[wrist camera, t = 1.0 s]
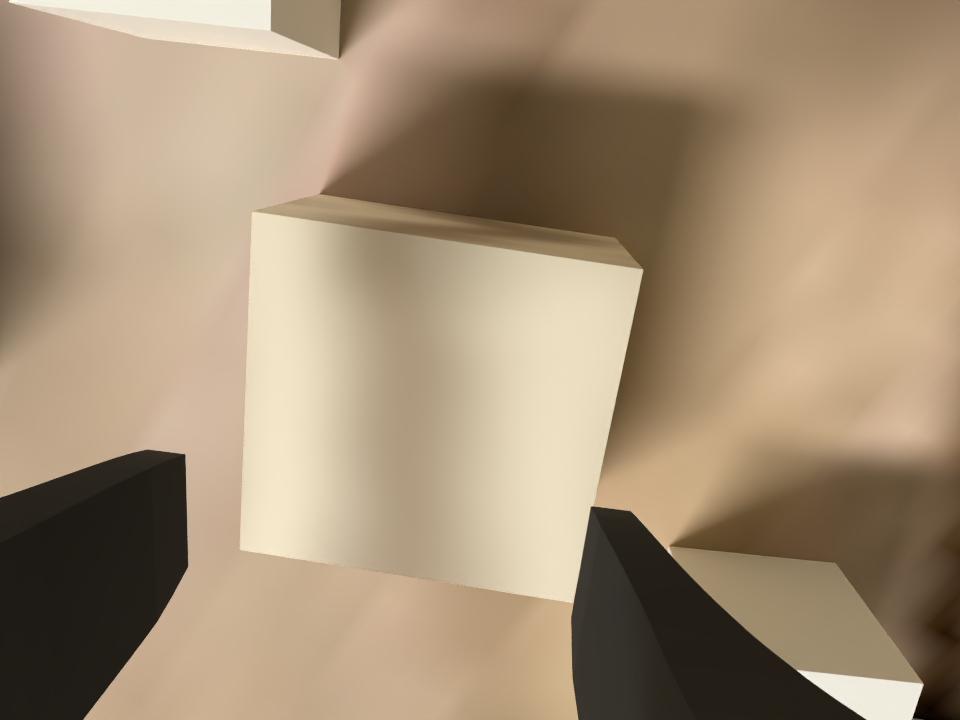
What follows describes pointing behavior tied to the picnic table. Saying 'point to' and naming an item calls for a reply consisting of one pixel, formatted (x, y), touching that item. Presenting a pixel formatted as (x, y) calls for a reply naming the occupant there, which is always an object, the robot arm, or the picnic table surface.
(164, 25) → the numbered cube seven
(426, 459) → the plain block
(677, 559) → the white marked cube
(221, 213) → the picnic table surface
